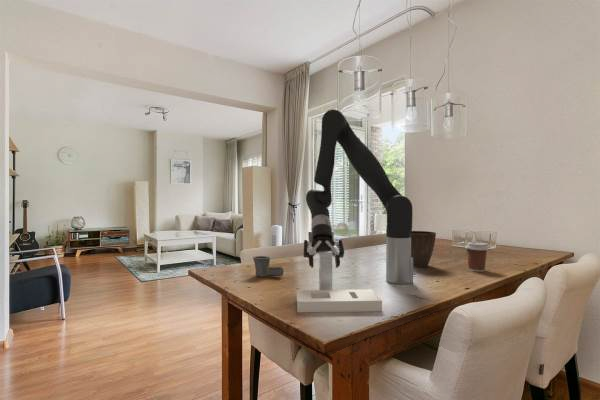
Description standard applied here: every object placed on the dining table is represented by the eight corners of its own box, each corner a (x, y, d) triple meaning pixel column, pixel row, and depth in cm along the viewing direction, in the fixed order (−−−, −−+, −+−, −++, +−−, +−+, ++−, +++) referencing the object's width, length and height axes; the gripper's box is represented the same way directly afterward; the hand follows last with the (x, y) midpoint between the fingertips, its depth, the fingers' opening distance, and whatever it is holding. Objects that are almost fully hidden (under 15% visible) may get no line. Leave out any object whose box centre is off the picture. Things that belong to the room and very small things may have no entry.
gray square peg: (330, 291, 108) (330, 250, 108) (332, 294, 104) (332, 252, 104) (319, 291, 108) (319, 250, 108) (320, 295, 104) (320, 252, 104)
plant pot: (396, 264, 152) (396, 231, 152) (417, 261, 160) (417, 230, 160) (421, 270, 139) (421, 234, 139) (443, 266, 147) (443, 232, 147)
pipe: (280, 279, 124) (280, 259, 124) (250, 277, 127) (250, 257, 127) (284, 275, 130) (284, 256, 130) (255, 274, 133) (255, 255, 133)
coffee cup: (491, 272, 135) (491, 245, 135) (467, 271, 137) (467, 244, 137) (485, 268, 144) (485, 242, 144) (463, 267, 146) (463, 241, 146)
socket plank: (371, 298, 100) (371, 289, 100) (382, 311, 89) (382, 300, 89) (296, 299, 99) (296, 290, 99) (297, 312, 88) (297, 301, 88)
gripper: (303, 223, 115) (304, 260, 104) (341, 223, 115) (347, 260, 104) (302, 235, 120) (303, 272, 109) (339, 235, 121) (344, 272, 109)
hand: (324, 266), depth 106 cm, fingers open, 8 cm apart
